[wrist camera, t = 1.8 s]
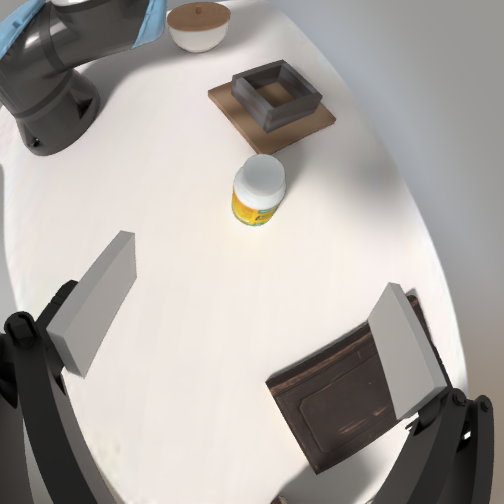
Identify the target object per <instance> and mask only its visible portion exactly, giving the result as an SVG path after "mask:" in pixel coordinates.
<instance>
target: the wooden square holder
mask: <svg viewBox="0 0 504 504" xmlns="http://www.w3.org/2000/svg"><path fill="white" fill-rule="evenodd" d="M208 96H209V98H210V99H211V100H212V101H213V102H214V103H215V104H216V105H217V107H218V108H219V109H220V110H221V111H222V112H223V113H224V115H225V116H226V117H227V118H228V119H229V120H230V122H231V123H232V124H233V125H234V126H235V127H236V129H237V130H238V131H239V132H240V133H241V135H242V136H243V137H244V138H245V139H246V141H247V142H248V143H249V144H250V145H251V147H252V148H253V149H254V150H255V152H256V153H257V154H266V155H271V154H273V153H274V152H276V151H278V150H280V149H282V148H284V147H286V146H288V145H290V144H292V143H294V142H296V141H298V140H300V139H302V138H304V137H306V136H308V135H310V134H312V133H315V132H317V131H319V130H321V129H323V128H325V127H327V126H329V125H332V124H334V122H335V120H336V118H335V117H334V116H333V115H332V114H331V113H330V112H329V111H328V110H327V109H326V108H325V107H324V106H323V105H322V104H321V103H320V100H321V98H322V95H321V94H320V93H319V92H318V91H317V90H316V89H315V88H314V87H313V86H312V85H311V84H310V83H309V82H308V81H307V80H306V79H304V78H303V77H302V76H301V75H300V74H299V73H298V72H297V71H296V70H295V69H293V68H292V67H291V66H290V65H289V64H288V63H287V62H285V61H284V60H280V61H276V62H273V63H269V64H266V65H263V66H259V67H256V68H253V69H250V70H247V71H244V72H241V73H239V74H236V75H233V77H232V81H231V82H228V83H226V84H223V85H221V86H218V87H216V88H213V89H211V90H208Z"/></svg>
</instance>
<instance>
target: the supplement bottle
mask: <svg viewBox="0 0 504 504" xmlns="http://www.w3.org/2000/svg"><path fill="white" fill-rule="evenodd" d="M285 190H286V183H285V170H284V167H283V165H282V164H281V163H280V161H279V160H277V159H276V158H275V157H273V156H270V155H266V154H258V155H254V156H252V157H250V158H249V159H248V160H247V161H246V162H245V164H244V166H243V167H241V168H240V169H239V171H238V172H237V174H236V176H235V179H234V184H233V195H232V212H233V214H234V216H235V218H236V219H237V220H238V221H239V222H240V223H242V224H244V225H247V226H252V227H254V226H261V225H263V224H265V223H266V222H268V221H269V220H270V219H271V217H272V216H273V214H274V212H275V210H276V209H277V207H278V205H279V203H280V202H281V200H282V198H283V196H284V194H285Z"/></svg>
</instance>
